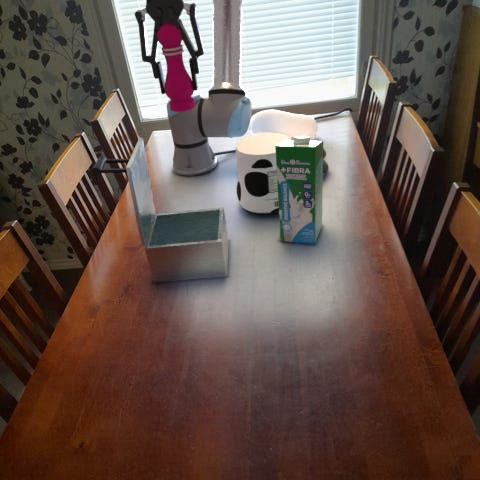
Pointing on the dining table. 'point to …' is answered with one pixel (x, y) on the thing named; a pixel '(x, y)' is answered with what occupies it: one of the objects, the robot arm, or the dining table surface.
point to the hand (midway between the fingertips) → (179, 90)
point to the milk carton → (300, 189)
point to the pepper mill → (175, 69)
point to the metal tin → (188, 245)
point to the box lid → (135, 186)
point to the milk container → (258, 172)
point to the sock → (283, 124)
